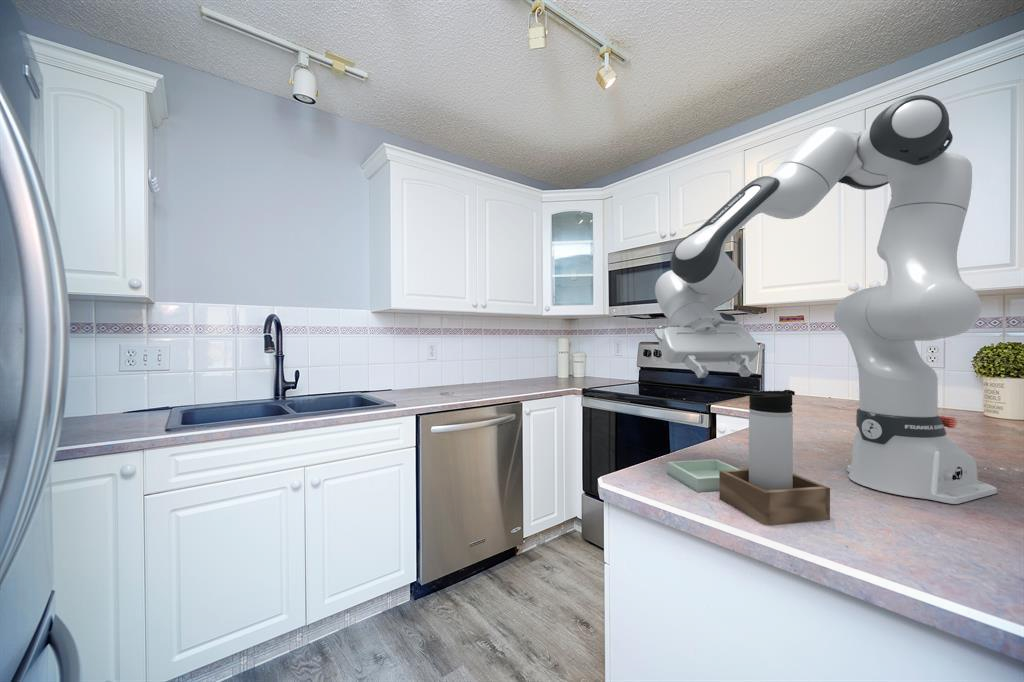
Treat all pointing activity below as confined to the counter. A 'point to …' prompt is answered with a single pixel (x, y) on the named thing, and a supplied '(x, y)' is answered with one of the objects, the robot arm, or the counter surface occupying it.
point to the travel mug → (771, 439)
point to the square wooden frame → (775, 499)
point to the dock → (698, 473)
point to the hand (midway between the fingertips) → (725, 375)
